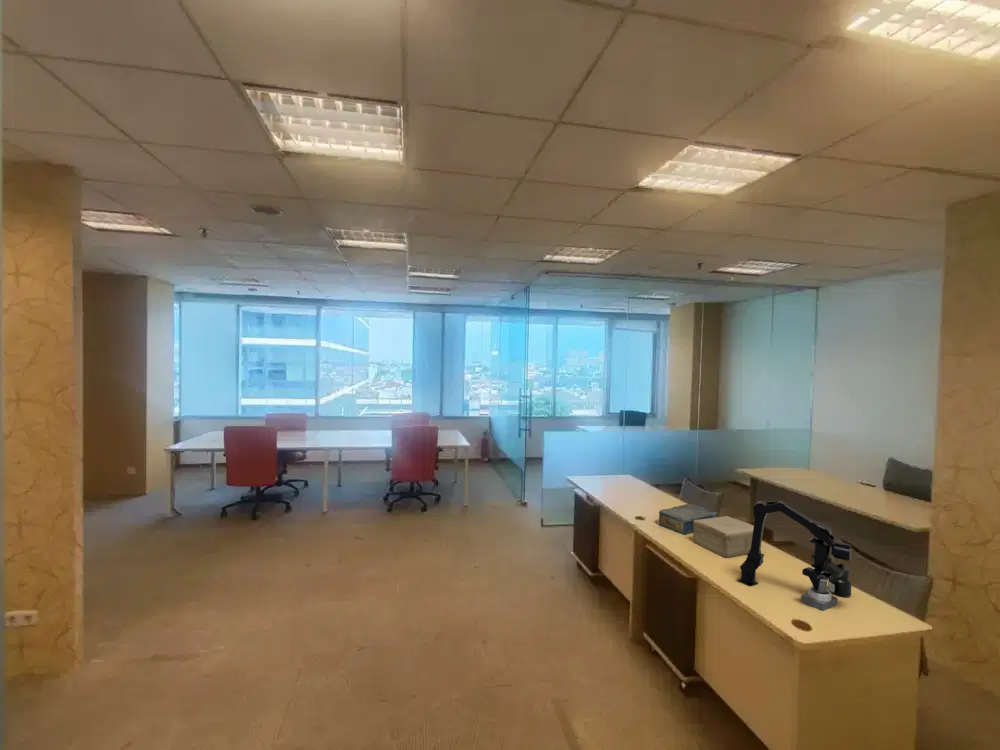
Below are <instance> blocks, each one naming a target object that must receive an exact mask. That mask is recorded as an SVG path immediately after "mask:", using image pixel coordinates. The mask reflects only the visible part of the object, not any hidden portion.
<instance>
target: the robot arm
mask: <svg viewBox="0 0 1000 750" xmlns="http://www.w3.org/2000/svg"><path fill="white" fill-rule="evenodd" d="M776 512H781V513H782V514H784V515H786V517H789V518H790V519H792V520H793V521H795V522H797V523H798V524H800V525H801V526H802V527H804V528H806V529H807V530H808V531H809V532H810V534H811V535H813V537H812V538H810V539H809V543H812V544H814V550H813V554H812V555H811V558H813V562H812V563H811V564H810V565H811V567H810V566H807V567H805V568H803V569H802V570H801V571H802V572H801V575H803V576H806V577H808V578H809V580H810V583H811V585H812V586H813V587H814V589H815V590H816V591H818V588H819V584H820V580H821V579H823V577H821V576H822V575H825V576H826V577H827V579H829V577H830V576H832V575H833V577H835V578H839V577H841V576H842V575H843V573H845V567H846V566H845V564H843V563H839V564H837V563H835V562H833V558H835V559H839V560H844V561H847V562H850V561H851V558H852V556H851V555H852V549H851V544H849V543H842V542H839V541H837V539H836V537H835V536H834V535H833V533H832V528H831V527H830V526H829V525H827V524H825V523H823V522H820V521H818V520H814V519H812V518H810V517H808V516H807V515H806V514H804V513H802V512H800V511H799V510H797V509H795V508H794V507H792V506H791V505H789V504H788V503H786V502H785V501H783V500H779V501H765V500H759V501H757V502H756V503H755V504H754V505H753V509H752V513H753V518H754V524H753V526H754V529H753V536H752V543H751V549H750V551H749V554H747V556H746V559H745V560H744V561H743V562H742V563H741V565H740V566H739V568H740V571H741V572H740V573H741V574H740V575H741V576H740V578H738V579H737V581H738V582H740V583H742V584H745V585H747V586H748V587H752V586H755V585H757V584H759V582H758V581H756V573H757V571H756V570H758V569H759V567H761V566H763V563H764V556H765V553H762V551H761V549H762V548H761V547H762V541H763V536H764V535H763V534H764V528H765V521H766V519H767V518H768V515H769V514H771V513H776ZM830 555H832V557H833V558H832V557H830ZM827 582H828V580H827Z"/></svg>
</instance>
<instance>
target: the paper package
mask: <svg viewBox="0 0 1000 750" xmlns="http://www.w3.org/2000/svg"><path fill="white" fill-rule="evenodd" d="M693 528H694V533H693V543H694V544H696V545H699V546H700V547H703V548H705V549H707V550H710V551H711V552H713V553H715V554H717V555H719V556H721V557H723V558H733V557H738V556H744V555H748V554H749V551H750V549H751V543H752V536H753V529H754V524H753V525H752V524H750V523H747V522H745V521H743V520H739V519H736V518H734V517H731V516H728V515H726V516H717V517H716V518H708V519H700V520H694V521H693Z"/></svg>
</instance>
